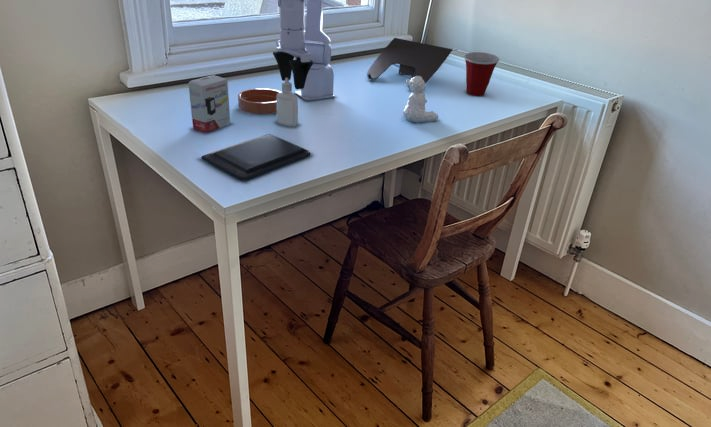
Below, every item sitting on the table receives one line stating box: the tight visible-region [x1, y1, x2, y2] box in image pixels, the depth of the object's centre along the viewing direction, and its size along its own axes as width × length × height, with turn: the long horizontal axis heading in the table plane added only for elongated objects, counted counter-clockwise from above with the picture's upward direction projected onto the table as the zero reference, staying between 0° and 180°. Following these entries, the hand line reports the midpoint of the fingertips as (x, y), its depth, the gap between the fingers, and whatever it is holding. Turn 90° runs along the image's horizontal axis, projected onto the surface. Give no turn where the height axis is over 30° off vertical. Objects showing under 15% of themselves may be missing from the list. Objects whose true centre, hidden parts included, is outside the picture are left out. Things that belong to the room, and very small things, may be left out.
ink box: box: [188, 74, 231, 134], centre depth 125 cm, size 9×5×12 cm, turn 148°
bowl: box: [237, 88, 281, 115], centre depth 141 cm, size 13×13×4 cm
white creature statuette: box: [402, 76, 439, 123], centre depth 138 cm, size 10×9×12 cm
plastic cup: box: [463, 51, 500, 97], centre depth 162 cm, size 11×11×12 cm
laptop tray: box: [366, 37, 454, 92], centre depth 173 cm, size 23×23×9 cm
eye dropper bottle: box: [276, 78, 299, 128], centre depth 129 cm, size 4×6×12 cm
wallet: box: [201, 133, 311, 182], centre depth 113 cm, size 20×2×15 cm
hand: (292, 84), depth 128 cm, fingers open, 7 cm apart
